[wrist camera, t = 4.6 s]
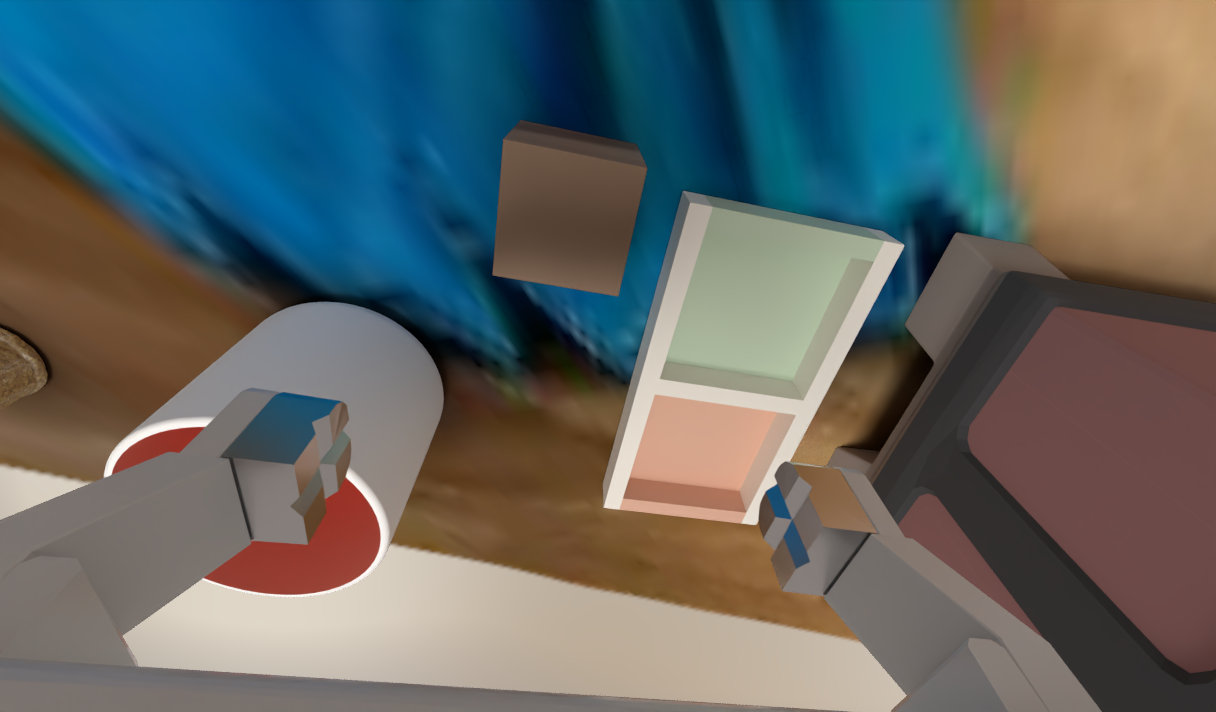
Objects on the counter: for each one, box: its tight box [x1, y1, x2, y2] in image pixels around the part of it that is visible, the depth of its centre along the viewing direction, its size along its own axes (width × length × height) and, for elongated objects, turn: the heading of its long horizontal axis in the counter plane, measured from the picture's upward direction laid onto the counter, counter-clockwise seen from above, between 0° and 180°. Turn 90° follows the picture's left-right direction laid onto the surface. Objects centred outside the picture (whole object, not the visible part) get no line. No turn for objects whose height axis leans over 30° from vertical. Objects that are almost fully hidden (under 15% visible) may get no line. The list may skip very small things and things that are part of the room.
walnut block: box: [493, 120, 647, 296], centre depth 20 cm, size 5×5×5 cm
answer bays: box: [603, 191, 905, 525], centre depth 27 cm, size 19×10×2 cm, turn 169°
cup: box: [104, 302, 444, 597], centre depth 23 cm, size 10×10×10 cm
